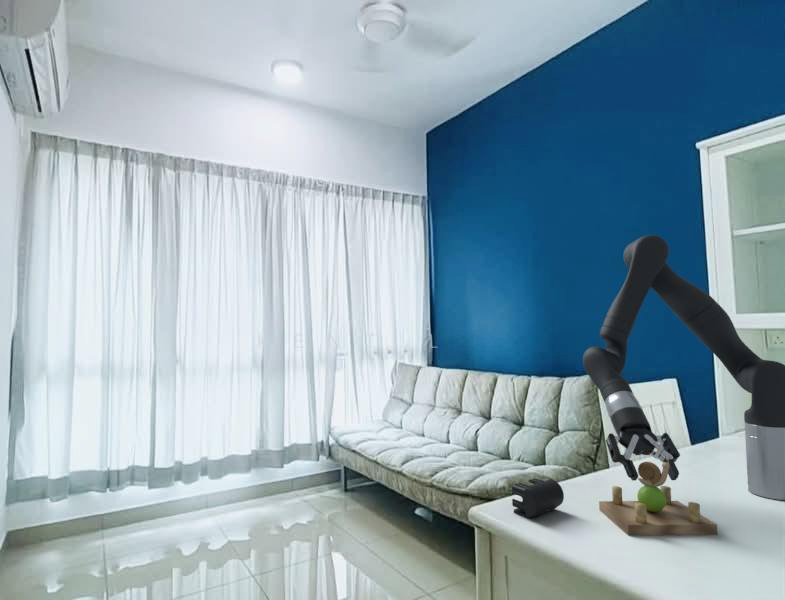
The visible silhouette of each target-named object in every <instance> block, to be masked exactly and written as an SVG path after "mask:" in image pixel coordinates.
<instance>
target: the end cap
mask: <svg viewBox="0 0 785 600" xmlns="http://www.w3.org/2000/svg"><path fill="white" fill-rule="evenodd" d="M528 483H529V484H525V483H522V482H518V483H515V484H513V485H512V487H511V494H513V495H516V496H519V497H520V498H521V499H522V500H521V501H520V500H518V499H515V498H512V500H511V501H512V503H511V505H512V507H514V508H515V509H513V514H515V515H518V516H521V517H523V518H525V519H531V518H535V517H537V516H539V515H543V514H544V513H548V512H550V511H553V510H555V509H557V508H558V507H560V505H562V504H563V502H564V499H565V498H564V497H565V496H564V495H565V493H564V490H563V488H562V486H561V485H560V483H558V481H556V480H555V479H553V478H551V479H547V480H543V479H539V478H537V477H534V478H532V479H531V478H530V479H528Z"/></svg>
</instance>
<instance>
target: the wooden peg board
mask: <svg viewBox="0 0 785 600" xmlns="http://www.w3.org/2000/svg"><path fill="white" fill-rule="evenodd" d="M611 488H612V489H611V491H612V493H611V494H612V500H611V501H610V500H609V501H608V500H606V501H605V500H603V501H602V500H601V501H600V500H599V502H598V503H599V504H598V505H599V510H598V511H600V513H602V514H603V515H604V516H605V517H606V518H608V519H609V520H610V521H611V522H612V523H614V524H615V525H616V526H617V527H618V528H619V529H620V530H621V531H623V532H624V533H625V534H626V535H627V536H701V535H702V536H706V535H708V536H709V535H711V536H716V535H718V524H717V523H715V522H714V521H713V520H710V519H708V518H707V517H705V516H704V515H702V514H701V505H700V504H699V503H697V502H695V501H690V502H688V503H687V504H688V505H685V504H684V503H682V502H680V501H679V500H672V492H671V490H672V487H670V486H667V485H661V486H659V489H660V490H661V491H662V492H663V493H664V495H665V497H666V505H665V507H664V508H663V509H662V510H661V511H658V512H650V511H648V510H646V504H644V503H639V501H638V500H623V488H622V487H621V486H617V485H616V486H612V487H611Z"/></svg>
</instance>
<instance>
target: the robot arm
mask: <svg viewBox="0 0 785 600" xmlns="http://www.w3.org/2000/svg"><path fill="white" fill-rule="evenodd" d="M669 255H670V248H669V245H668V243H667V241H666V240H665V239H664V238H662V237H660V236H659V235H656V234H648V235H643V236H641V237H640V238H637V239H636V240H634V241H632V242H631V243H629V244H627V246H626V247H625V249H624V251H623V255H622V256H623V261H624V264H625V265H626V267H627V268H628V269H629V270H628V273H627V276H626V278H625V280H624V283H623V284H622V287H621V288H620V290H619V292H618V294H617V295H616V296H615V298H614V300H613V301H612V304H610V307H609V308H608V311H607V313H606V316H605V318H604V321H603V324H602V326H601V328H600V330H599V336H600V337H601V339H602V340H604V342H605V343H606V347H605V348H603V347H600V346H591V347H589V348H587V349H586V350H585V351H584V353H583V354H582V356H583V357H582V365H583V368H584V370H585V372H586V374H587V375H588V376H589V378H590V379H591V381H592V382H593V384H594V385H595V386H596V388H597V389H598V390H599V392H600V395H601V397H602V400H603V402H604V404H605V407H606V412H607V414H608V417H609V419H610V422H611V424H612V426H613V428H614V431H615V433H616V435H615V434H613V433H609V434H608V436H607V437H606V438H605V443H606V446H607V448H608V452H609V455H610V458H611V461H612V462H613V463H620V464H621V465H622V466H623V469H624V470H625V473H626V476H627V477H628V478H630V479H631V481H637V480H638V478H639V473H638V470H637V469H636V467H635V464H634V462H633V460H632V459H631V457H632V455H634V456H641V455H644V456H649V455H650V456H651V457H652V458H653V459H656V460H659V461H660V462H662V464H663V463H664V462H667V463H668V460H666V458H667V457H669V458H670V459H669V465H670V466H669V467H670V468H669V470H668V477H669V479H670V480H671V481H676V480H677V479H678V478H679V475H680V472H679V471H680V470H679V469H678V468H677V465H676V462H677V460H678V459H679V458H680V456H681V453H680V452H679V450H678V448H677V447H676V445H675V443H674V442H673V440H672V438H671V436H670V435H669V433H667V432H664V433H663V434H661V435H656V434H655V433H654V432H653V431H652V427H651V424H650V422H649V420H648V419H647V416H646V413H645V412H644V411H643V408H642V406H641V404H640V402H639V401H638V399H637V397H636V396H635V394H634V392H633V390H632V388H631V386H630V384H629V382H628V380H627V379H626V378H625V377H624V376H622V375H621V374H622V373H623V371H624V369H625V366H626V359H627V350H628V341H629V338H630V335H631V333H632V331H633V329H634V328H633V327H634V325H635V323H636V320H637V317H638V315H639V313H640V310H641V307H642V305H643V303H644V301H645V299H646V297H647V294H648V292H649V290H650V289H652V291H654V292H655V293H656V294H657V296H658V297H659V298H660V299H661V300H662V301H663V302H664V304H665V305H666V306H667V307H668V308H669V309H670V310H671V311H672V312H673V313H674V314H675V315H676V317H677V318H678V319H679V320H680V321H681V322H682V323H683V324H684V325H685V326H686V328H688V330H689V331H691V333H692V334H693V335H695V337H696V338H698V340H699V341H700V342H701V343H702V344H703V345H705V347H706V348H707V349H708V350H709V351H711V352H712V354H714V355H715V357H717V359H719V361H720V362H721V363H722V364H723V366H724V367H725V369H726V370H727V371H728V373H730V375H731V376H732V378H733V379H734V380H735V382H736V383H737V384H738V385H739V387H741V389H742V390H744V391H746V392H747V393H750V394H751V406H750V407H749V408H748V409H746V410H745V411H744V414H743V417H744V418H743V420H744V421H743V422H744V436H745V439H744V440H745V453H746V455H745V456H746V457H745V458H746V472H747V473H746V474H747V475H746V476H747V486H748V487H747V490H748V492H750V494H754V495H756V496H760V497H762V498H768V499H772V500H779V501H785V364H783V363H781V362H779V361H775V360H770V359H769V360H767V359H762V358H761V357H760V356H758V355H757V353H755V352H754V351H753V350H751V349H750V348H749V346H747V345H746V344H745V343H744V341H743V340H742V339H741V338H740V336H739V334H738V332H737V330H736V328H735V325H734V323H733V320H732V319H731V317H730V315H729V314H728V313H727V312H726V310H724V308H723V307H722V306H721V305H720V304H719V303H718V302H717V301H716V300H715V299H714V298H713V297H712V296H711V295H710V294H708V293H707V292H706V291H705V290H703V289H702V288H700V287H698V286H696V285H695V284H693V283H691V282H690V281H688V280H687V279H684V278H683V277H682V276H680V275H679V274H677V273H676V271H674V269H672V268H671V266H669V264H668V263H667V261H668V257H669ZM618 444H620V445H621V446H622V447H624V448H625V450H624V453H623V454H621V451H620V449H619V446H618ZM655 449H656V451H655Z"/></svg>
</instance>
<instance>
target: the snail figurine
mask: <svg viewBox="0 0 785 600" xmlns="http://www.w3.org/2000/svg"><path fill="white" fill-rule="evenodd" d="M665 458H666V457H665ZM669 459H670V458H669V457H667V458H666V460H668V463H667V462H664V463H663V462H662V464H661V466H662V471H661V470H660V468H659V466H658V465H657V464H656V463H653V462H651V461H642V462H641V463H640V464H639V465H638V467H637V473H638V476H639V477H638V478H637V480H638V481H639V482H640V483H641V484H642V486H641V487H640V488H639V489H638V491H637V496H636V497H637V501H639V503H644V504H646V510H648V511H650V512H658V511H661V510H662V509H663V508H664V507H665V505H666V497H665V495H664V493H663V492H662V491H661V488H660V487H661V486H664V484H665V482H666V481H667V479H668V477H669V475H668V470H669V468H670V467H669V466H670V465H669Z"/></svg>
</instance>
